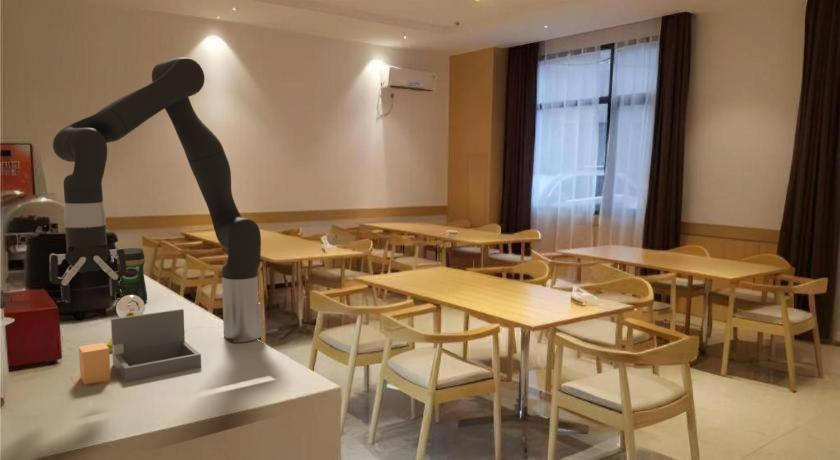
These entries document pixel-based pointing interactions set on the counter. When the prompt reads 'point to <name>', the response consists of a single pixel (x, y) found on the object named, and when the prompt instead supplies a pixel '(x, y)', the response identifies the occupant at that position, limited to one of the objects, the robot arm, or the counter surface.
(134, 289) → the coffee jar
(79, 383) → the pad
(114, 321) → the case
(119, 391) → the counter surface
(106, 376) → the block
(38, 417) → the counter surface
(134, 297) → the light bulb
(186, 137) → the robot arm
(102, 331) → the counter surface
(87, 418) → the counter surface
